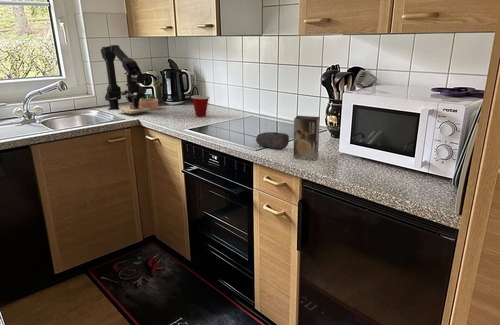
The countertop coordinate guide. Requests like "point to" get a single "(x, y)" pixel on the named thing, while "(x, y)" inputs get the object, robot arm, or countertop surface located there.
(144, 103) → the bowl
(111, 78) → the robot arm
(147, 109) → the lid
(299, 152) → the coffee box
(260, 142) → the perforated stone tool
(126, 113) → the mat
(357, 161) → the countertop surface
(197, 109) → the plastic cup
